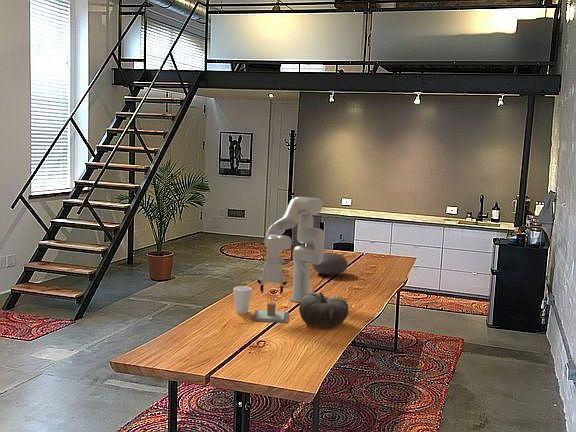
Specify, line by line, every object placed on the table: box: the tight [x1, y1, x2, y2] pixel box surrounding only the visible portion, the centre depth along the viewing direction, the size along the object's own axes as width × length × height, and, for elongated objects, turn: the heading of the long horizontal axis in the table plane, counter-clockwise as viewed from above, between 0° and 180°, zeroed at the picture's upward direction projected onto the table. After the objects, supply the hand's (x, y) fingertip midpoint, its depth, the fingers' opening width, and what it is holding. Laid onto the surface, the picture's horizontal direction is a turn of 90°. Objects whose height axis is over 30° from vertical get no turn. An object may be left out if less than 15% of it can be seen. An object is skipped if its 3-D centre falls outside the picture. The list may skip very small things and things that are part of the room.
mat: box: [251, 309, 290, 324], centre depth 331 cm, size 18×18×1 cm
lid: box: [257, 301, 286, 321], centre depth 331 cm, size 14×14×7 cm
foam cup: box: [232, 285, 252, 315], centre depth 337 cm, size 10×9×13 cm
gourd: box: [298, 291, 349, 329], centre depth 322 cm, size 25×25×17 cm
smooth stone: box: [311, 252, 349, 276], centre depth 434 cm, size 25×25×15 cm
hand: (271, 293), depth 329 cm, fingers open, 9 cm apart
